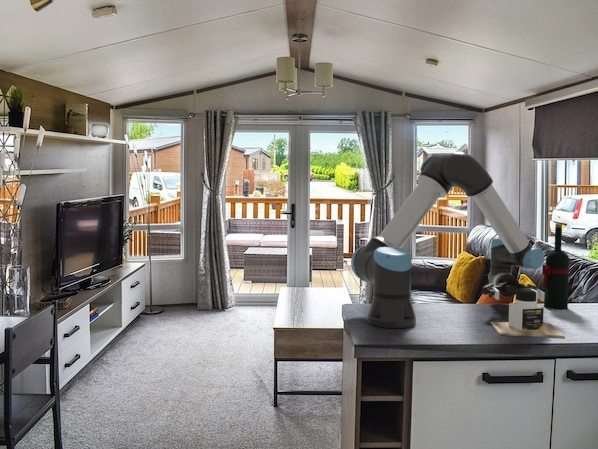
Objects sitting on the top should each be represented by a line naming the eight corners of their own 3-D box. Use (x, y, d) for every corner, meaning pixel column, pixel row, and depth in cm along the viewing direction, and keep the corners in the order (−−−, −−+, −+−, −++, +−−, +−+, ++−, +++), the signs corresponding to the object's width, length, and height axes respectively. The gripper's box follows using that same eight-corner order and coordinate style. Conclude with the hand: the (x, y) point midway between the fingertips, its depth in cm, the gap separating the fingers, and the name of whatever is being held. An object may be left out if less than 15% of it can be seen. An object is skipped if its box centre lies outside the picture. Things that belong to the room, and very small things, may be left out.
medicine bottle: (522, 331, 166) (523, 291, 166) (507, 325, 173) (509, 287, 173) (543, 330, 168) (544, 290, 167) (528, 324, 175) (529, 286, 174)
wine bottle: (533, 305, 205) (536, 223, 203) (557, 304, 208) (560, 223, 206) (548, 310, 198) (551, 225, 196) (572, 309, 200) (576, 224, 198)
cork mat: (499, 335, 165) (499, 333, 165) (490, 323, 179) (490, 321, 179) (564, 337, 163) (564, 335, 162) (550, 325, 176) (550, 323, 176)
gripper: (543, 296, 197) (561, 309, 176) (469, 293, 201) (479, 306, 180) (543, 274, 197) (562, 285, 176) (469, 272, 201) (479, 283, 180)
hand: (520, 296), depth 178 cm, fingers open, 13 cm apart
